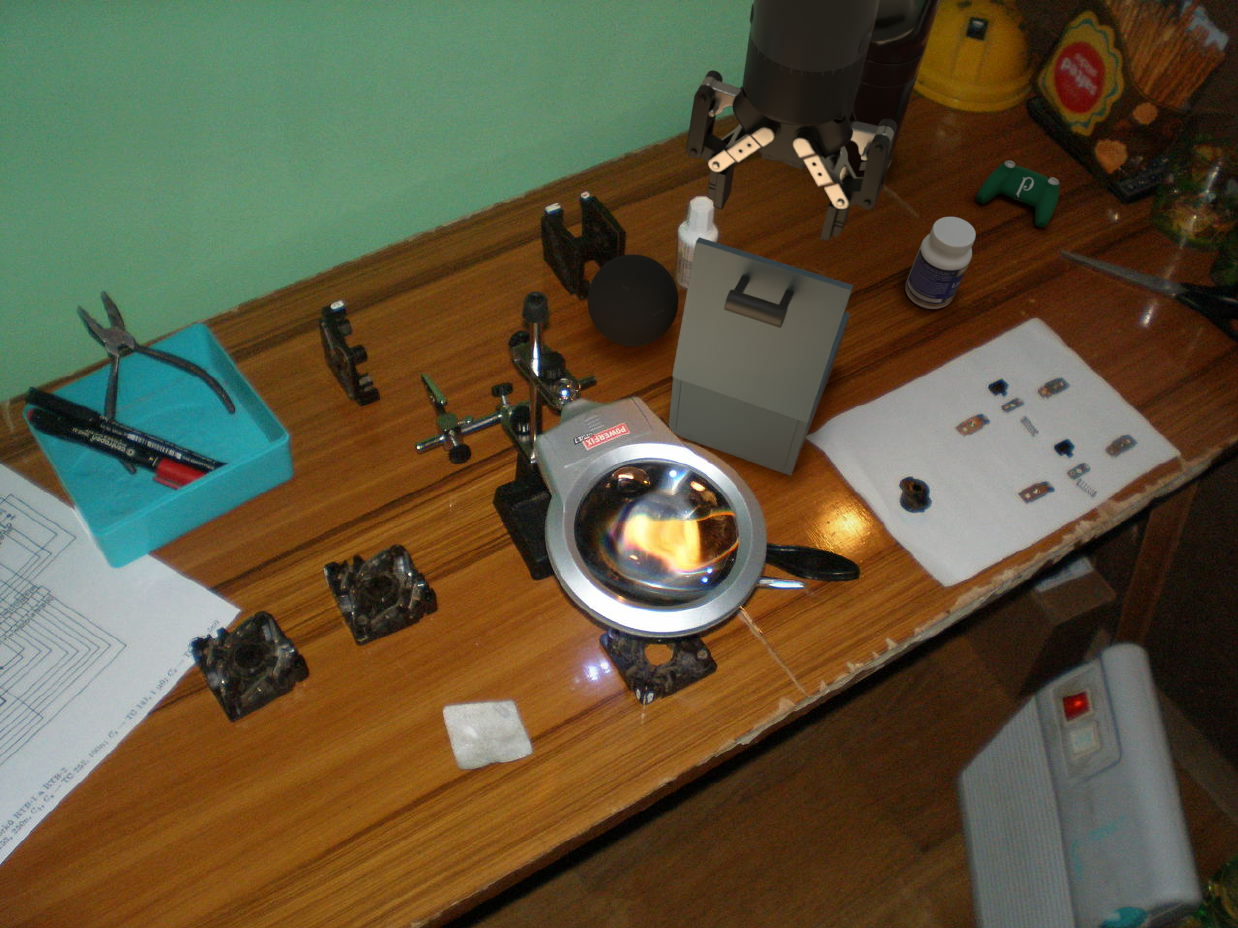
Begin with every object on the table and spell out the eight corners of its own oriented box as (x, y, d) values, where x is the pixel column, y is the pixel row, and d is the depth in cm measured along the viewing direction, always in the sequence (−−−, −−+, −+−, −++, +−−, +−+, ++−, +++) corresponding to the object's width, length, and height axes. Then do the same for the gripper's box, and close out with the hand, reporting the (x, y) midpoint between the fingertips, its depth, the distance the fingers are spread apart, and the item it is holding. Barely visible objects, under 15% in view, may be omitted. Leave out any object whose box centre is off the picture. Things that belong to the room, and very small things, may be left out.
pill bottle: (952, 314, 114) (980, 254, 105) (902, 306, 114) (926, 245, 106) (953, 278, 117) (981, 216, 108) (905, 270, 117) (928, 208, 109)
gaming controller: (1043, 231, 123) (1068, 186, 122) (1044, 228, 120) (1070, 181, 118) (974, 203, 126) (998, 158, 124) (973, 199, 122) (997, 153, 121)
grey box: (714, 333, 112) (723, 273, 103) (831, 371, 109) (850, 313, 101) (667, 432, 105) (673, 377, 96) (791, 476, 102) (807, 423, 93)
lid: (698, 236, 85) (678, 268, 81) (853, 285, 82) (839, 319, 79) (674, 371, 96) (656, 404, 93) (809, 417, 93) (795, 452, 90)
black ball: (662, 374, 109) (667, 315, 100) (576, 352, 110) (574, 292, 102) (685, 308, 114) (692, 246, 105) (603, 288, 115) (603, 226, 107)
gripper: (937, 22, 62) (877, 211, 76) (723, -32, 64) (703, 159, 78) (907, 96, 58) (849, 279, 72) (682, 35, 61) (669, 223, 75)
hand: (773, 217), depth 75 cm, fingers open, 8 cm apart
